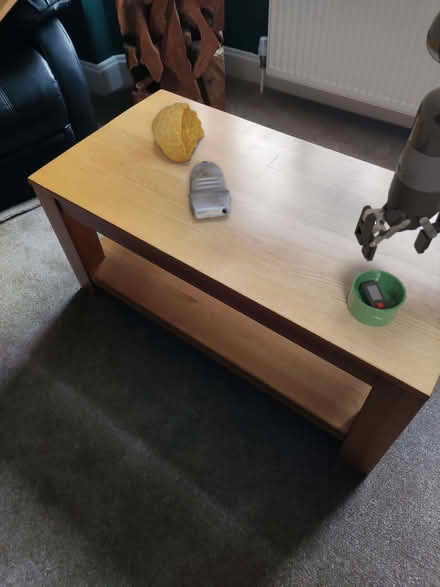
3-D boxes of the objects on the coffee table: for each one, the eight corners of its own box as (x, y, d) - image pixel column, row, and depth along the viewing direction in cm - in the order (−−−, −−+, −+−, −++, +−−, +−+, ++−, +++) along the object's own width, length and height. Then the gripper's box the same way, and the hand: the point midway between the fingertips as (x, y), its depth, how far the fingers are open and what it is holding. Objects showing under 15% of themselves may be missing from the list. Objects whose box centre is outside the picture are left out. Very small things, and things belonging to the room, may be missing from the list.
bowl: (387, 283, 84) (394, 266, 80) (406, 322, 79) (415, 306, 75) (340, 290, 84) (345, 273, 80) (356, 330, 78) (362, 314, 74)
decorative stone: (132, 143, 113) (152, 116, 100) (162, 109, 119) (185, 78, 106) (169, 178, 117) (194, 156, 104) (197, 143, 123) (223, 117, 110)
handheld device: (223, 165, 110) (223, 150, 106) (233, 219, 97) (233, 204, 94) (186, 169, 109) (184, 154, 106) (191, 224, 97) (189, 208, 93)
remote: (358, 290, 83) (361, 282, 81) (373, 288, 83) (376, 280, 81) (371, 320, 79) (375, 312, 77) (387, 318, 79) (391, 310, 77)
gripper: (384, 197, 55) (358, 277, 68) (491, 182, 55) (445, 264, 68) (364, 161, 59) (343, 243, 72) (463, 148, 60) (425, 231, 73)
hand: (392, 253), depth 70 cm, fingers open, 8 cm apart
